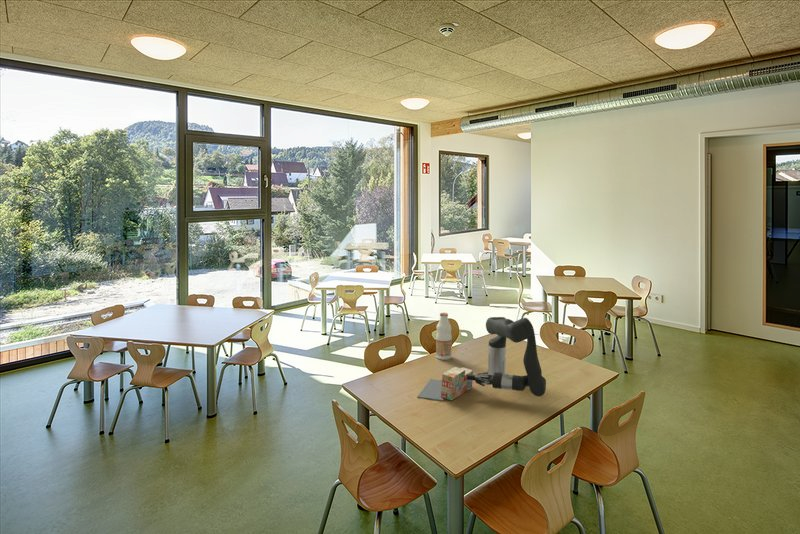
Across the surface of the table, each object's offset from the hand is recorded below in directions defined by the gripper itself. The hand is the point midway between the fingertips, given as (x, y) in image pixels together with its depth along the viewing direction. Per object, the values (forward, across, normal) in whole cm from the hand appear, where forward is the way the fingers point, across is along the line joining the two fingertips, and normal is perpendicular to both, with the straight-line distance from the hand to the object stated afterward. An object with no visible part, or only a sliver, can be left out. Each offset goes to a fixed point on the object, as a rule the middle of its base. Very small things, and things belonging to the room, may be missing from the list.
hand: (467, 377), depth 230 cm
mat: (+16, 0, +9) cm, 18 cm away
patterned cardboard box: (+5, 0, +9) cm, 10 cm away
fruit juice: (+24, -49, +9) cm, 56 cm away
